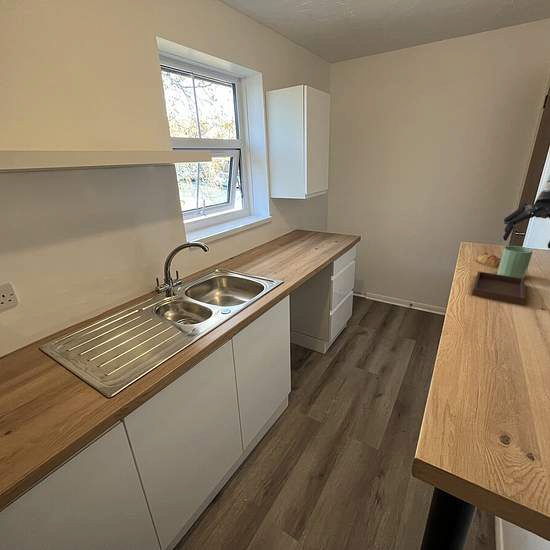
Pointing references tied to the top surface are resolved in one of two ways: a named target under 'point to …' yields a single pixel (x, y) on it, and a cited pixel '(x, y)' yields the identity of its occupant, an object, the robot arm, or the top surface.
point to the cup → (514, 261)
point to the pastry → (489, 259)
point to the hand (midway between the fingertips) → (525, 242)
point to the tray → (500, 288)
